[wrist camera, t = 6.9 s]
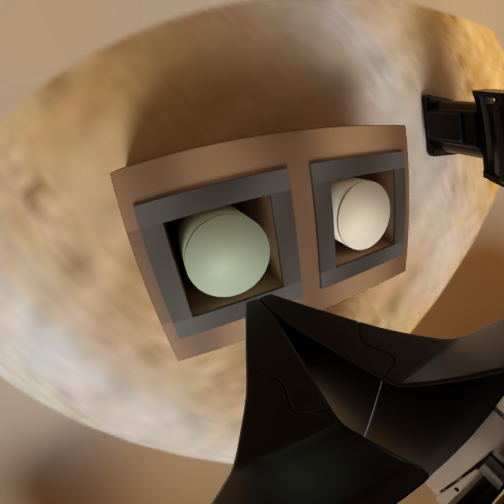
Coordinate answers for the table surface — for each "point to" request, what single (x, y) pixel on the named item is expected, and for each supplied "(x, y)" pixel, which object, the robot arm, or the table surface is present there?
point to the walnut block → (264, 222)
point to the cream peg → (359, 212)
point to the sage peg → (222, 250)
